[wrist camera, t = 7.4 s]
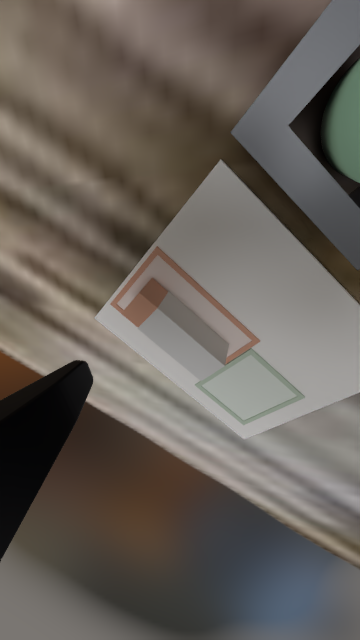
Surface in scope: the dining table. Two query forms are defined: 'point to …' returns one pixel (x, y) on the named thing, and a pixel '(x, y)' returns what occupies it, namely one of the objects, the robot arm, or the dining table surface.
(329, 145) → the button
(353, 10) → the grey open box
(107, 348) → the dining table surface
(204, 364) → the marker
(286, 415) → the sheet
